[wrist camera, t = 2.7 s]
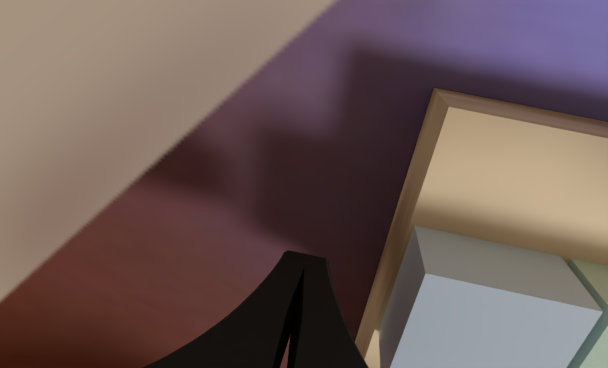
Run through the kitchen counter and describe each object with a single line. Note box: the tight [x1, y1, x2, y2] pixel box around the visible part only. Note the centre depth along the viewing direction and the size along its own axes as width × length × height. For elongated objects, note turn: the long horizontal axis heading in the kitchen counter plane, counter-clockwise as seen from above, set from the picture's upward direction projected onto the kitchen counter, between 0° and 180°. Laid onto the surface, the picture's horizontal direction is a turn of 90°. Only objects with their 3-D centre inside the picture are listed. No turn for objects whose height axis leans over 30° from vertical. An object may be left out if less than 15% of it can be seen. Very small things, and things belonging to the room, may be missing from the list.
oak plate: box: [355, 88, 608, 368], centre depth 14 cm, size 12×10×2 cm
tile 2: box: [378, 225, 603, 368], centre depth 12 cm, size 4×4×2 cm
